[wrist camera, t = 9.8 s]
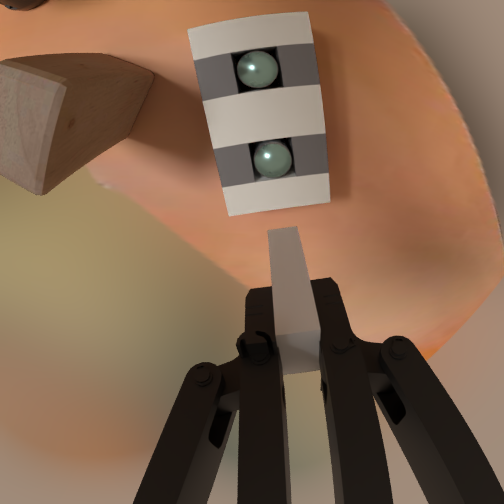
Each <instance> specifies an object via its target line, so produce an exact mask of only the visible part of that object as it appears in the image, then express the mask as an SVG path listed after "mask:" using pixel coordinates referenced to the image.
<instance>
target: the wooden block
mask: <svg viewBox="0 0 504 504" xmlns="http://www.w3.org/2000/svg"><path fill="white" fill-rule="evenodd" d="M153 80H154V75H153V73H152V72H151V71H149V70H146V69H144V68H141V67H139V66H136V65H134V64H131V63H128V62H126V61H123V60H120V59H117V58H114V57H111V56H109V55H106V54H103V53H63V54H46V55H35V56H26V57H18V58H11V59H5V60H3V61H0V175H2V176H3V177H5V178H7V179H9V180H10V181H12V182H14V183H16V184H17V185H19V186H21V187H23V188H24V189H26V190H28V191H30V192H31V193H33V194H35V195H45V194H47V193H48V192H49V191H51V190H52V189H53V188H54V187H55V186H57V185H58V184H60V183H61V182H62V181H63V180H65V179H66V178H67V177H69V176H70V175H71V174H73V173H74V172H75V171H77V170H78V169H80V168H81V167H82V166H84V165H85V164H87V163H88V162H90V161H91V160H92V159H94V158H95V157H97V156H98V155H100V154H101V153H103V152H104V151H106V150H107V149H109V148H111V147H112V146H114V145H115V144H117V143H118V142H120V141H122V140H123V139H125V138H126V137H127V136H128V135H129V133H130V131H131V128H132V126H133V124H134V121H135V119H136V117H137V114H138V112H139V110H140V108H141V105H142V103H143V101H144V99H145V97H146V95H147V93H148V91H149V89H150V87H151V85H152V83H153Z"/></svg>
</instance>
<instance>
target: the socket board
mask: <svg viewBox="0 0 504 504" xmlns="http://www.w3.org/2000/svg"><path fill="white" fill-rule="evenodd" d="M187 31H188V36H189V41H190V45H191V50H192V55H193V60H194V64H195V69H196V74H197V78H198V83H199V87H200V92H201V96H202V101H203V106H204V110H205V115H206V119H207V123H208V128H209V132H210V137H211V141H212V146H213V150H214V154H215V159H216V163H217V167H218V172H219V176H220V180H221V185H222V189H223V193H224V197H225V202H226V206H227V210H228V214H229V216H234V215H241V214H247V213H254V212H261V211H268V210H275V209H282V208H290V207H297V206H305V205H313V204H321V203H329V202H330V185H329V168H328V155H327V142H326V131H325V121H324V112H323V103H322V95H321V87H320V80H319V73H318V66H317V60H316V53H315V47H314V42H313V36H312V31H311V25H310V20H309V15H308V12H289V13H276V14H267V15H258V16H251V17H244V18H238V19H232V20H227V21H221V22H216V23H212V24H207V25H203V26H199V27H195V28H191V29H187ZM253 51H262V52H273V57H274V59H275V61H276V62H277V65H278V74H277V80H278V86H270V87H263V88H256V89H249V90H243V91H241V86H240V81H239V77H238V74H237V66H236V61H235V57H239V56H244V55H245V54H247V53H249V52H253ZM278 138H286V139H287V146H288V150H289V152H290V154H291V158H292V163H291V167H290V169H289V170H288V172H287V173H286V174H284V175H283V176H281V177H278V178H268V177H265V176H263V175H261V174H260V173H259V172H258V171H257V169H256V168H255V165H254V156H253V151H252V145H251V142H257V141H264V140H271V139H278Z"/></svg>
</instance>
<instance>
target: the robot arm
mask: <svg viewBox="0 0 504 504" xmlns="http://www.w3.org/2000/svg"><path fill="white" fill-rule="evenodd" d="M44 1H46V0H0V4H2V5H4V6H5V7H7V8H8V9H11V10H19V11H25V10H29V9H32V8H34V7H36V6H38V5H40V4H41V3H43V2H44ZM268 242H269V254H270V267H271V280H272V286H270V287H262V288H254V289H250V291H249V293H248V294H247V296H246V302H245V308H246V309H245V332H244V333H242V334H241V335H240V337H239V338H238V339H237V343H236V347H237V350H238V352H239V356H238V357H236V358H235V359H234V360H232V361H230V362H227V363H224V364H222V365H219V366H216V365H215V364H212V363H210V362H202V363H199V364H196V365H195V366H193V367H192V368H191V369H190V370H189V371H188V373H187V375H186V377H185V379H184V381H183V384H182V386H181V389H180V391H179V393H178V396H177V398H176V400H175V403H174V405H173V407H172V410H171V412H170V414H169V417H168V419H167V422H166V424H165V427H164V429H163V431H162V434H161V436H160V439H159V441H158V443H157V446H156V448H155V450H154V453H153V455H152V458H151V460H150V462H149V465H148V467H147V470H146V472H145V475H144V477H143V480H142V482H141V484H140V487H139V489H138V492H137V494H136V497H135V499H134V502H133V504H207V501H208V498H209V495H210V492H211V489H212V487H213V483H214V480H215V478H216V474H217V472H218V468H219V465H220V462H221V459H222V456H223V453H224V450H225V447H226V444H227V441H228V438H229V434H230V431H231V428H232V425H233V422H234V418H235V415H236V412H237V410H239V447H238V448H239V449H238V498H237V501H238V502H237V504H291V484H290V465H289V448H288V433H287V432H288V431H287V416H286V401H285V388H284V382H283V375H287V374H295V373H302V372H310V371H316V370H320V372H321V391H322V393H323V400H324V407H325V414H326V422H327V430H328V438H329V446H330V455H331V464H332V473H333V484H334V494H335V504H393V499H392V491H391V485H390V478H389V472H388V466H387V460H386V454H385V449H384V444H383V439H382V434H381V429H380V424H379V420H378V416H377V411H376V406H375V402H374V398H375V400H376V402H377V404H378V405H379V407H380V409H381V411H382V413H383V415H384V417H385V418H386V420H387V422H388V424H389V426H390V428H391V430H392V432H393V434H394V436H395V437H396V439H397V441H398V443H399V445H400V447H401V449H402V451H403V453H404V455H405V457H406V459H407V460H408V462H409V465H410V466H411V469H412V470H413V473H414V474H415V477H416V479H417V480H418V483H419V485H420V487H421V489H422V491H423V493H424V495H425V497H426V499H427V501H428V503H429V504H504V491H503V489H502V487H501V485H500V483H499V481H498V479H497V477H496V475H495V473H494V471H493V469H492V467H491V465H490V464H489V462H488V460H487V458H486V456H485V454H484V453H483V451H482V449H481V447H480V445H479V444H478V442H477V440H476V438H475V437H474V435H473V433H472V432H471V430H470V428H469V426H468V425H467V423H466V422H465V420H464V418H463V417H462V415H461V413H460V412H459V410H458V409H457V407H456V405H455V404H454V402H453V401H452V399H451V398H450V396H449V395H448V393H447V392H446V390H445V388H444V387H443V385H442V384H441V382H440V381H439V379H438V378H437V377H436V375H435V374H434V372H433V371H432V369H431V368H430V366H429V365H428V363H427V362H426V361H425V359H424V358H423V356H422V355H421V353H420V352H419V351H418V349H417V348H416V347H415V345H414V344H413V343H412V342H411V341H410V340H409V339H408V338H406V337H403V336H393V337H389V338H388V339H386V340H385V341H384V342H383V343H373V342H366V341H363V340H361V339H359V338H358V337H356V336H355V334H354V333H353V332H352V329H351V327H350V323H349V320H348V317H347V313H346V310H345V307H344V303H343V300H342V297H341V295H340V291H339V288H338V285H337V284H336V283H335V281H334V280H333V279H332V278H331V277H329V278H323V279H316V280H310V278H309V274H308V269H307V265H306V261H305V257H304V253H303V248H302V244H301V240H300V236H299V232H298V228H297V226H295V227H288V228H281V229H273V230H268ZM373 396H374V398H373Z"/></svg>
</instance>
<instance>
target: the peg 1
mask: <svg viewBox="0 0 504 504" xmlns="http://www.w3.org/2000/svg"><path fill="white" fill-rule="evenodd" d="M237 74H238V77H239V78H240V80H241V81H242V82H243V83H244V84H245V85H247V86H249V87H253V88H263V87H266V86H268V85H270V84H271V83H272V82H273V81H274V80H275V79H276V77H277V74H278V65H277V62H276V61H275V59H274V58H273V57H272V56H271V55H270V54H268V53H266V52H262V51H253V52H249V53H247V54H245V55H244V56H243V57H242V58H241V59H240V60H239V62H238V65H237Z"/></svg>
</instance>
